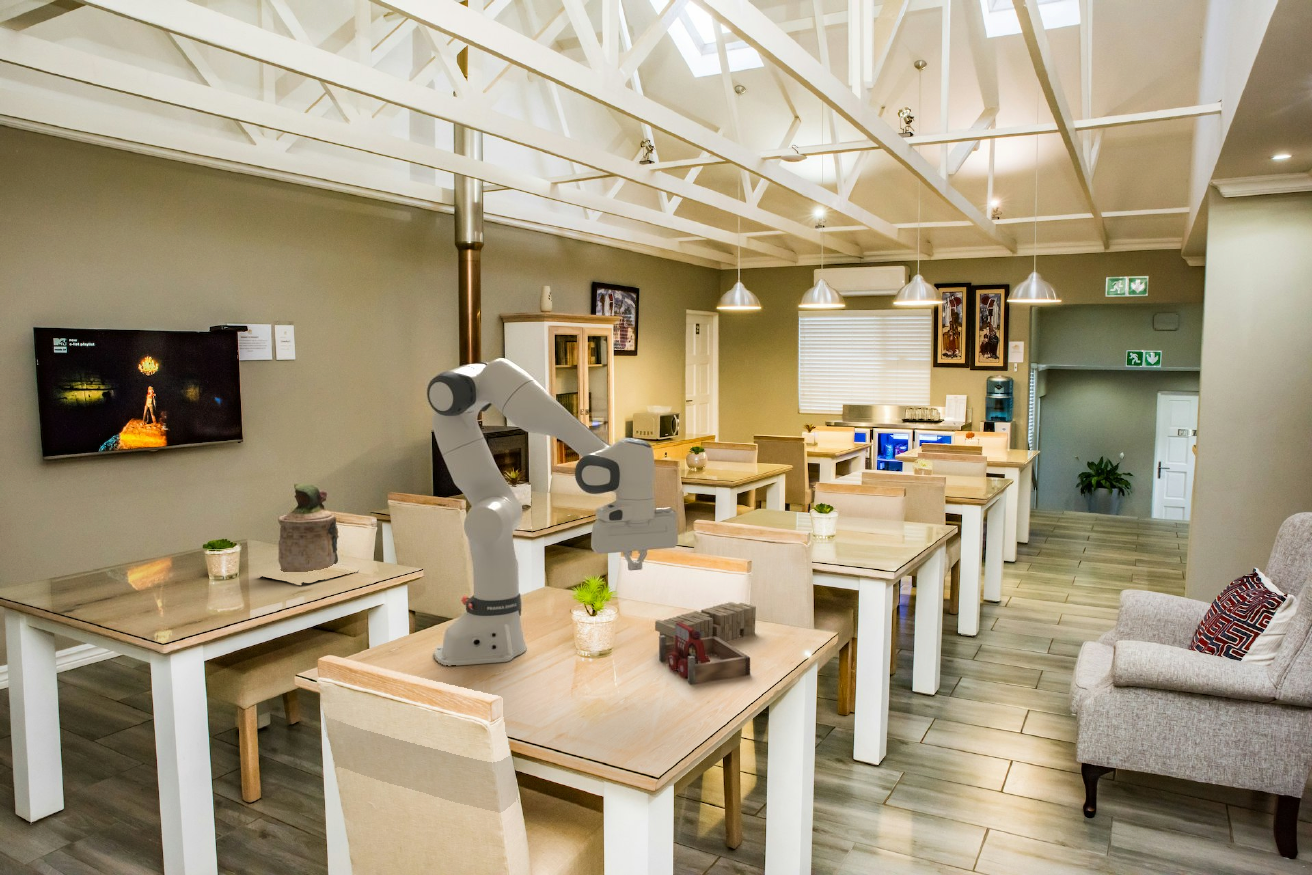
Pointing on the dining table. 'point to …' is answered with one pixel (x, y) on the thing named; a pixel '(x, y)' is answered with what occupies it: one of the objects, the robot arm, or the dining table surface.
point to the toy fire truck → (686, 649)
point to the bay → (728, 667)
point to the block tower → (714, 622)
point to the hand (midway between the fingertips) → (635, 569)
